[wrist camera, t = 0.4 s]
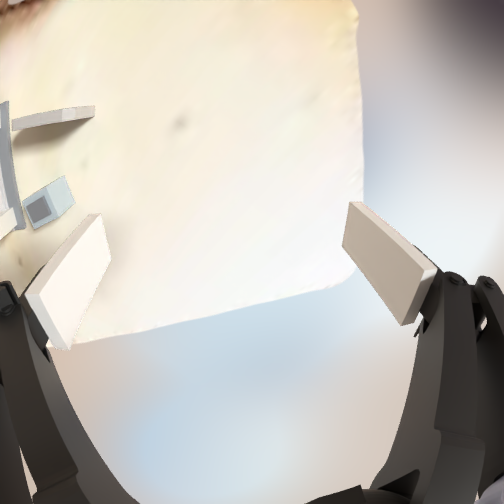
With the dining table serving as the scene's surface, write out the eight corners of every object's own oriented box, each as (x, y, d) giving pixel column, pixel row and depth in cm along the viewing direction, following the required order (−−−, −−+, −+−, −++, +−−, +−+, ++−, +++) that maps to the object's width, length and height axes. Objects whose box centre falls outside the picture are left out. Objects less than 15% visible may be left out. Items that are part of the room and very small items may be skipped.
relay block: (40, 188, 34) (19, 202, 28) (64, 175, 34) (43, 188, 28) (51, 214, 36) (32, 231, 31) (75, 202, 36) (57, 218, 31)
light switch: (35, 115, 28) (6, 121, 21) (95, 105, 30) (70, 107, 23) (34, 125, 28) (6, 132, 22) (94, 116, 31) (69, 120, 24)
